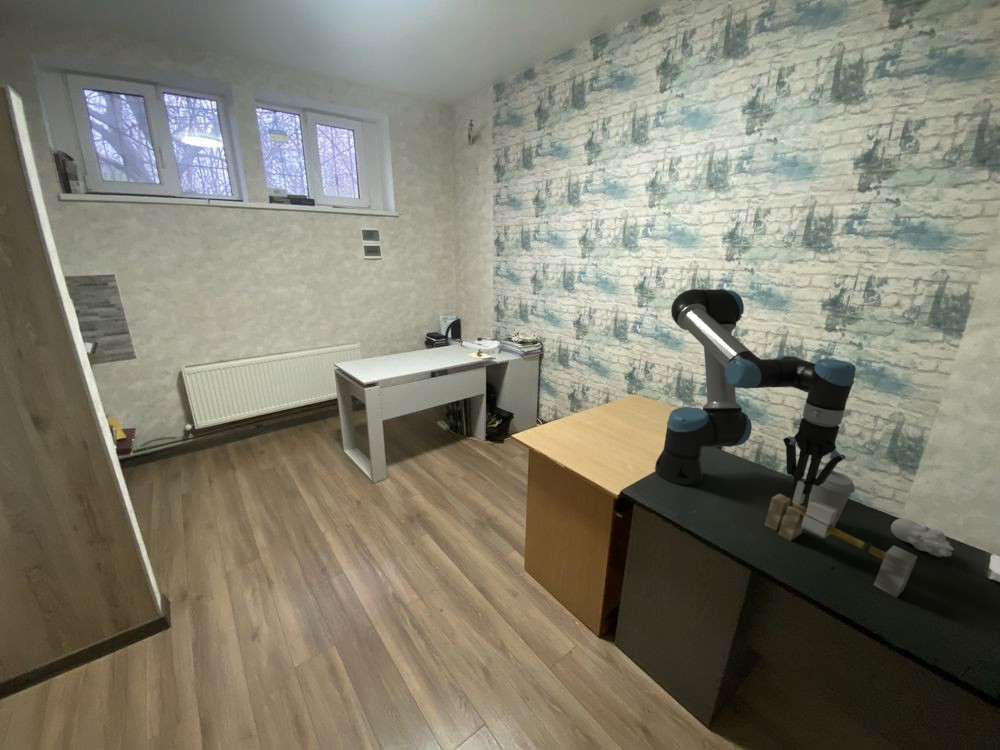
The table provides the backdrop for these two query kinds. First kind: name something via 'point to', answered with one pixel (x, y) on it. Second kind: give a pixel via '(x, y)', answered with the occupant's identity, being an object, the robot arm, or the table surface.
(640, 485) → the table surface
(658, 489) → the table surface
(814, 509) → the grey stepped block
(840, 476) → the coffee cup
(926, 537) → the figurine
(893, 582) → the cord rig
